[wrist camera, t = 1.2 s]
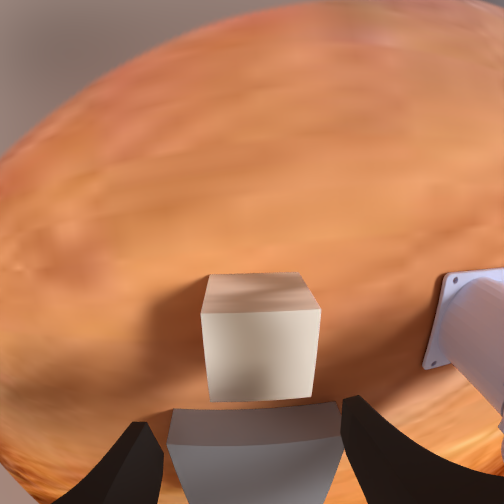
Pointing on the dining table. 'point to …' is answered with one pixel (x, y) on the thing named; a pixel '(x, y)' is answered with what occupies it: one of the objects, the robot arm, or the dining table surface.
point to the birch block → (259, 336)
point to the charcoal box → (256, 454)
